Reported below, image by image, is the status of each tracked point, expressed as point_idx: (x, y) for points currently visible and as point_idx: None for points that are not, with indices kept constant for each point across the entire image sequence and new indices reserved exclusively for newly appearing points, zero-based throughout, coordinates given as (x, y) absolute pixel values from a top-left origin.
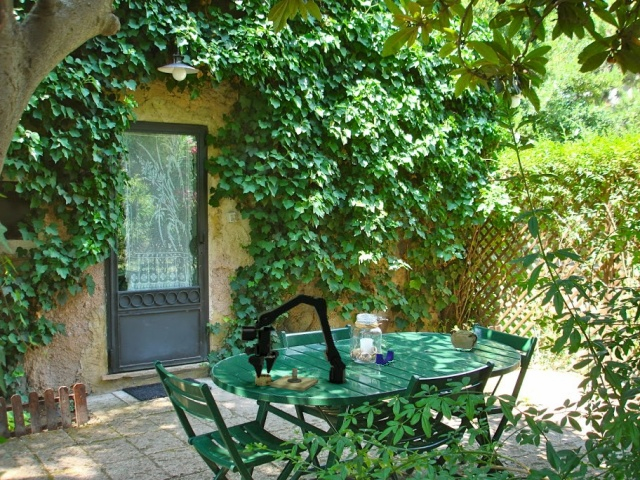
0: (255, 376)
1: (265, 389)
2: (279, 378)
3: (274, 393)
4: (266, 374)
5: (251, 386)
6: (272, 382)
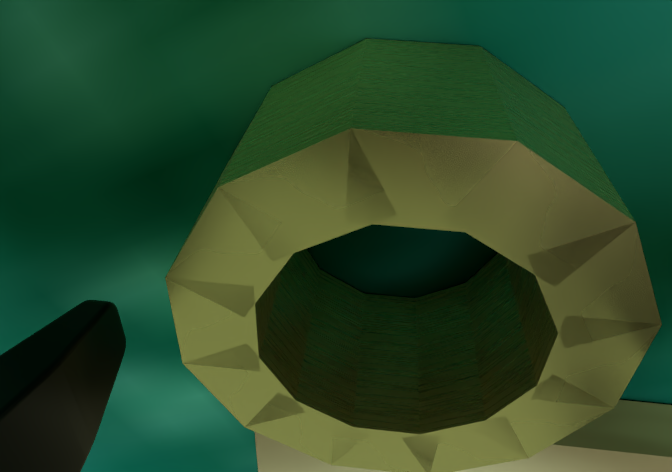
0: (221, 184)
1: None
2: (634, 455)
3: None
4: (564, 374)
5: (58, 88)
6: None
